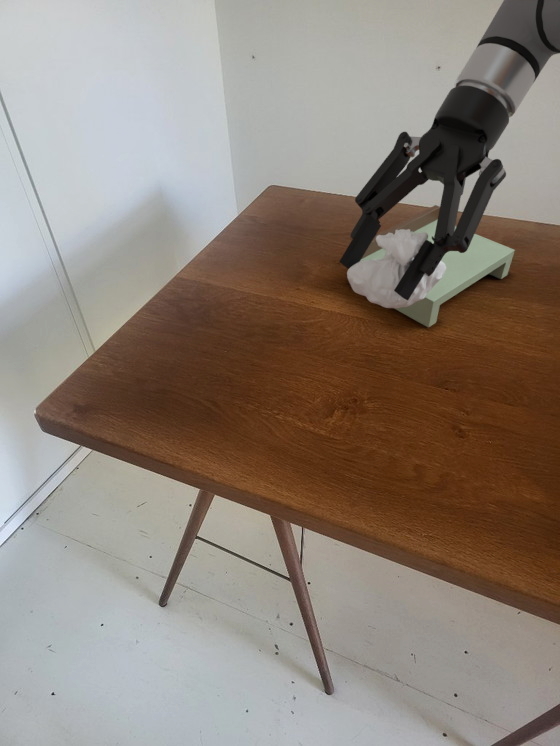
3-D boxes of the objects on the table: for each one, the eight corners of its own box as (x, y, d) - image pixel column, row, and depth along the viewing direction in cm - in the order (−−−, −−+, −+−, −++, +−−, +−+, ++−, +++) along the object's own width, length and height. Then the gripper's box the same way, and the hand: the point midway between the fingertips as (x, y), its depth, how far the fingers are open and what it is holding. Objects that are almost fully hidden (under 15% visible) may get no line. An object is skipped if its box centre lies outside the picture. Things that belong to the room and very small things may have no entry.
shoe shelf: (507, 275, 91) (519, 236, 86) (428, 327, 81) (436, 288, 76) (429, 240, 101) (435, 204, 96) (350, 284, 91) (352, 246, 86)
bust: (346, 317, 67) (353, 289, 56) (342, 262, 69) (349, 223, 57) (440, 313, 67) (466, 282, 56) (434, 257, 68) (459, 216, 57)
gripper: (574, 144, 55) (455, 327, 59) (418, 104, 67) (326, 259, 71) (566, 101, 49) (433, 309, 53) (396, 66, 61) (297, 237, 65)
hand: (372, 280), depth 62 cm, fingers closed on bust, 8 cm apart
